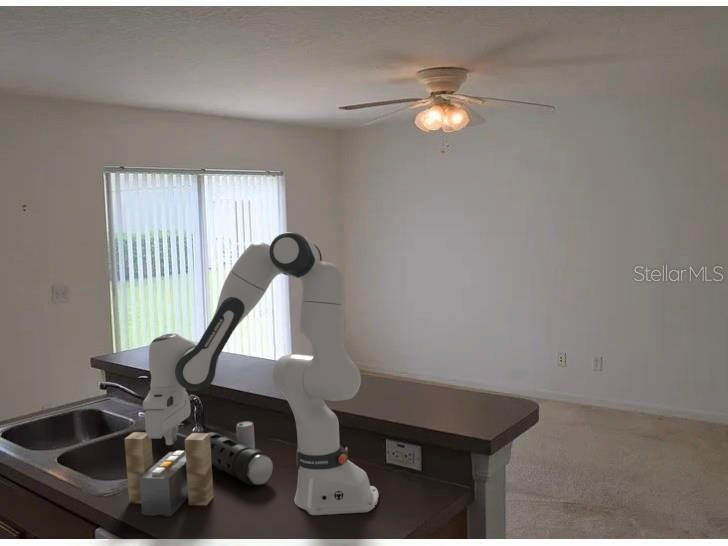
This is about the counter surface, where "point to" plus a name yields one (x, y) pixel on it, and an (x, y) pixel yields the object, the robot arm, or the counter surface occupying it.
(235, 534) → the counter surface
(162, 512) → the button box
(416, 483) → the counter surface
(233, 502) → the counter surface
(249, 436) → the energy drink
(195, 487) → the oak post
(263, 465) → the muzzle brake
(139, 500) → the oak post
